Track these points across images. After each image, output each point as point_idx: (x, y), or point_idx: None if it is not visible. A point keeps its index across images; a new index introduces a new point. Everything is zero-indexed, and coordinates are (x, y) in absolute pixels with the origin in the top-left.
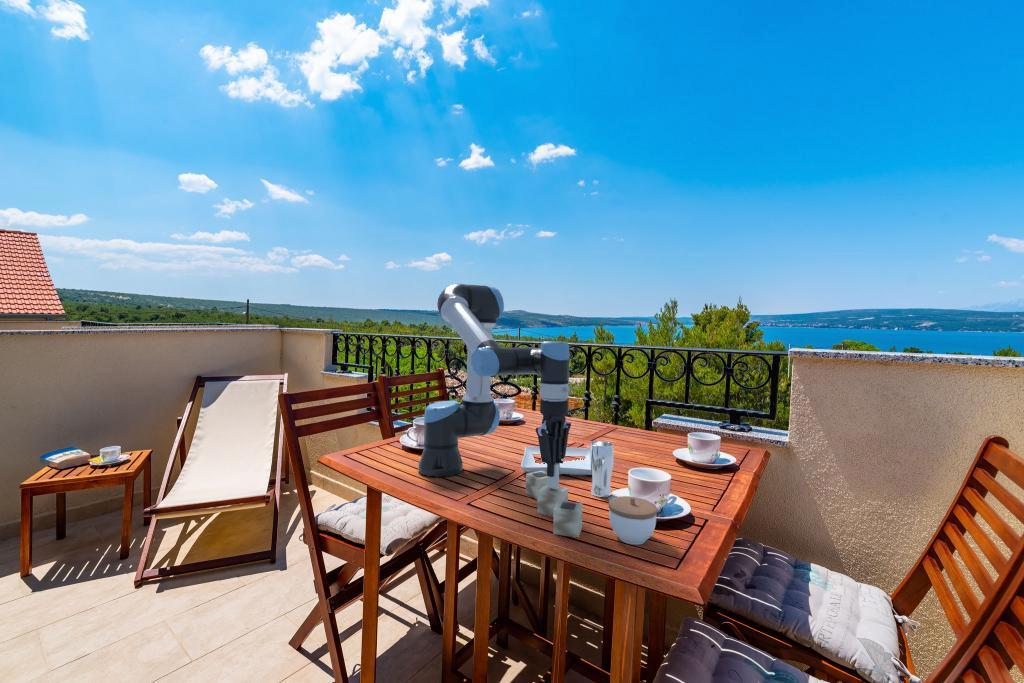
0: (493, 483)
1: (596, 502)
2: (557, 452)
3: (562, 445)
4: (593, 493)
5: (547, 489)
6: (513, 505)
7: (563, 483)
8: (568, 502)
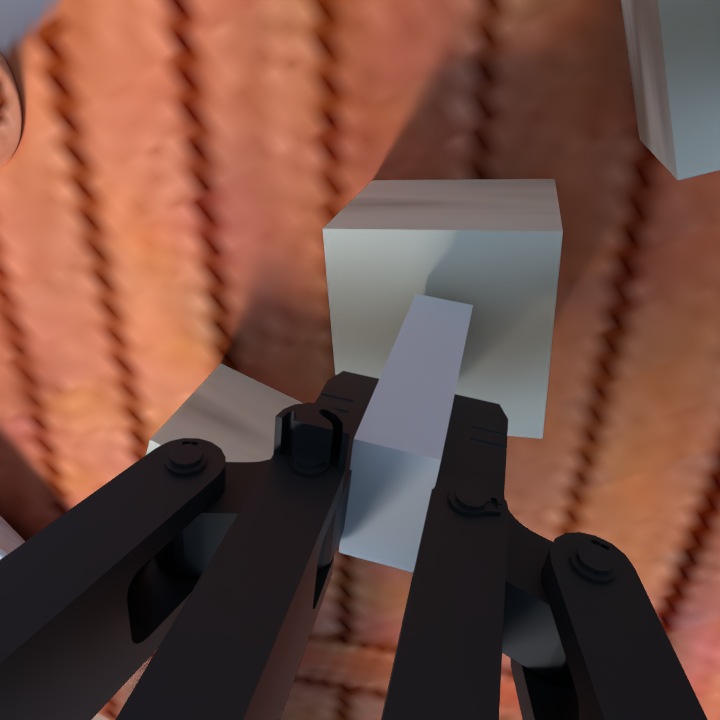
0: (307, 676)
1: (101, 48)
2: (299, 601)
3: (61, 645)
4: (9, 131)
5: (471, 377)
6: (515, 507)
7: (23, 385)
8: (695, 44)
